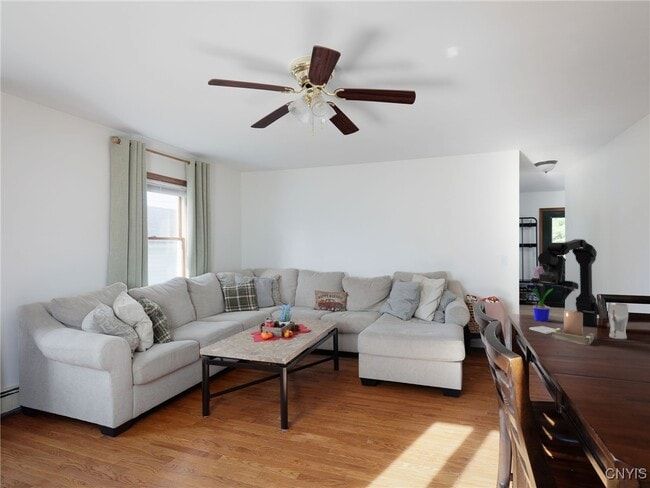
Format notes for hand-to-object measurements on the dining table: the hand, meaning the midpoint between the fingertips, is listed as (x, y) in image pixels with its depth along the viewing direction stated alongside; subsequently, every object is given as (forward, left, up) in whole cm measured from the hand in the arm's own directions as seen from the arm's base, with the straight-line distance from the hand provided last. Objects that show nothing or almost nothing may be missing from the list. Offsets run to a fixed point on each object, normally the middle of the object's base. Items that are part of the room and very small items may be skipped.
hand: (551, 301), depth 160 cm
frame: (-6, +7, -15) cm, 18 cm away
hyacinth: (-8, -30, -16) cm, 35 cm away
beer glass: (-27, 0, -16) cm, 31 cm away
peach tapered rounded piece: (-7, +6, -15) cm, 18 cm away
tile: (0, -7, -15) cm, 17 cm away
